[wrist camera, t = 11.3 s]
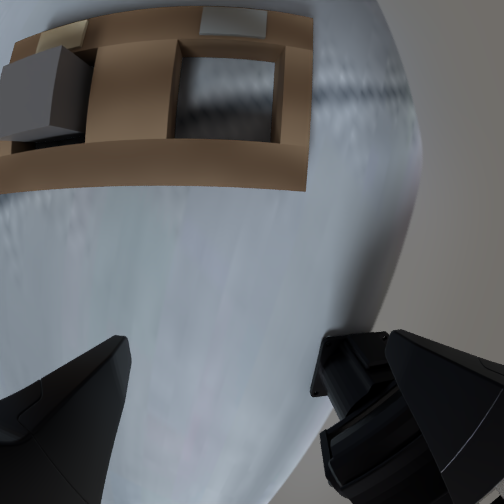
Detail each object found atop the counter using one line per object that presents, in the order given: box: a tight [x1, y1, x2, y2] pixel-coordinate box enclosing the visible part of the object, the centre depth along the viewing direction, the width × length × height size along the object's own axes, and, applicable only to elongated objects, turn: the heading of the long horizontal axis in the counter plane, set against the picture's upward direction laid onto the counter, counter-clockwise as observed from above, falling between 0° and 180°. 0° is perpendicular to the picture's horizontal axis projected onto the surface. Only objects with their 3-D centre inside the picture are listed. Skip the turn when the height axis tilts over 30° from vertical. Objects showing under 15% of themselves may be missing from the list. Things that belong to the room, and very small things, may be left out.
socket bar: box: [0, 6, 313, 194], centre depth 14 cm, size 11×20×3 cm, turn 86°
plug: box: [0, 45, 94, 143], centre depth 12 cm, size 4×4×6 cm
